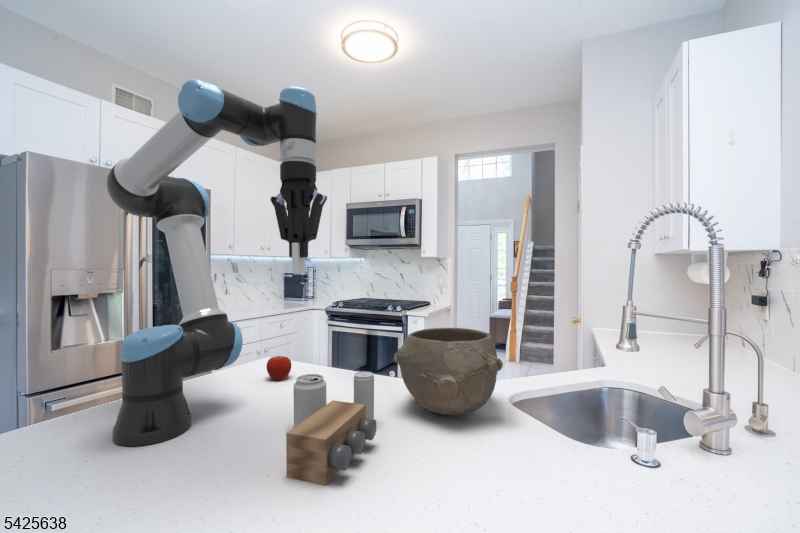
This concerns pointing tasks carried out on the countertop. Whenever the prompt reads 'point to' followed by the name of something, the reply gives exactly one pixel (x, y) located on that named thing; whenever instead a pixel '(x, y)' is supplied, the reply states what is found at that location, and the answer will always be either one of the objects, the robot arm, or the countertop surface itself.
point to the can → (308, 396)
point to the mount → (320, 440)
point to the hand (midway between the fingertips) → (298, 272)
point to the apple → (278, 367)
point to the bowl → (449, 368)
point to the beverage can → (364, 391)
